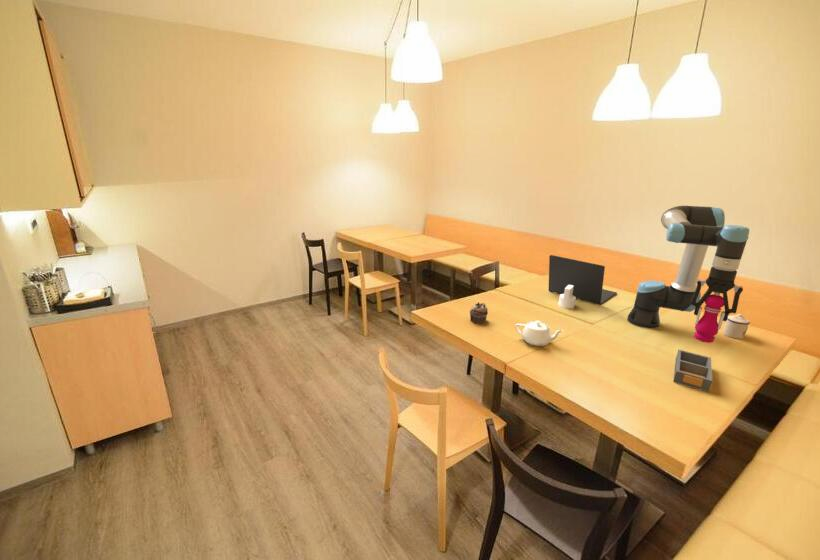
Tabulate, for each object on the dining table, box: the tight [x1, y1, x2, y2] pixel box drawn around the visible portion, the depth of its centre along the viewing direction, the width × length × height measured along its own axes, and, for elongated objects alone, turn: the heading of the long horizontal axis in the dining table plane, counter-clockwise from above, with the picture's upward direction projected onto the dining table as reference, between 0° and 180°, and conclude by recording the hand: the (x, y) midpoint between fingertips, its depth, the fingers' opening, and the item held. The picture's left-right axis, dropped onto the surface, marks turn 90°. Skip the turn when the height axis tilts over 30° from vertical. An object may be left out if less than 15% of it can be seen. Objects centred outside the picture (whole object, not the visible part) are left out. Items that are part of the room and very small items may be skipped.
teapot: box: [514, 320, 564, 347], centre depth 181 cm, size 22×14×11 cm, turn 65°
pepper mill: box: [693, 292, 724, 344], centre depth 144 cm, size 7×7×20 cm
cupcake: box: [469, 302, 488, 324], centre depth 203 cm, size 10×10×10 cm
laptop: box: [548, 254, 618, 306], centre depth 243 cm, size 33×35×26 cm
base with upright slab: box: [557, 285, 576, 310], centre depth 225 cm, size 9×9×12 cm
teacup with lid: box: [722, 313, 751, 340], centre depth 192 cm, size 12×9×12 cm
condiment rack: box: [673, 349, 713, 393], centre depth 156 cm, size 12×22×5 cm, turn 144°
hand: (707, 325), depth 145 cm, fingers closed on pepper mill, 6 cm apart
